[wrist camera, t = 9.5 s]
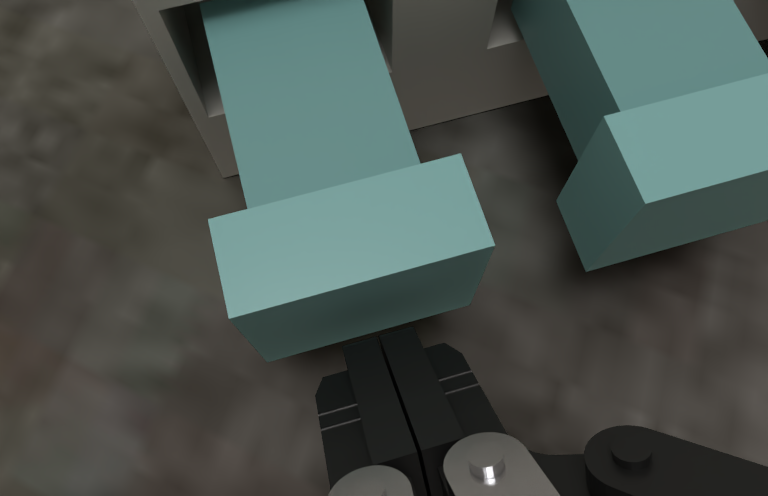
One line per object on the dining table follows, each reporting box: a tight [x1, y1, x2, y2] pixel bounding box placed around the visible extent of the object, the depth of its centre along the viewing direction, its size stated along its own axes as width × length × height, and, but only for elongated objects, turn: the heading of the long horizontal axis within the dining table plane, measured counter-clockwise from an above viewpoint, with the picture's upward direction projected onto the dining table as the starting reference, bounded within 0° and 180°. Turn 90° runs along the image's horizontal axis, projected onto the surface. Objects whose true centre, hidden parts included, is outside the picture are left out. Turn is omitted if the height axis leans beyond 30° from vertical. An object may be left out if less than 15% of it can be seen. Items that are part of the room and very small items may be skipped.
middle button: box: [511, 0, 768, 272], centre depth 16 cm, size 5×8×4 cm, turn 16°
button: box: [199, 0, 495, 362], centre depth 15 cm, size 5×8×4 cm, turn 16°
